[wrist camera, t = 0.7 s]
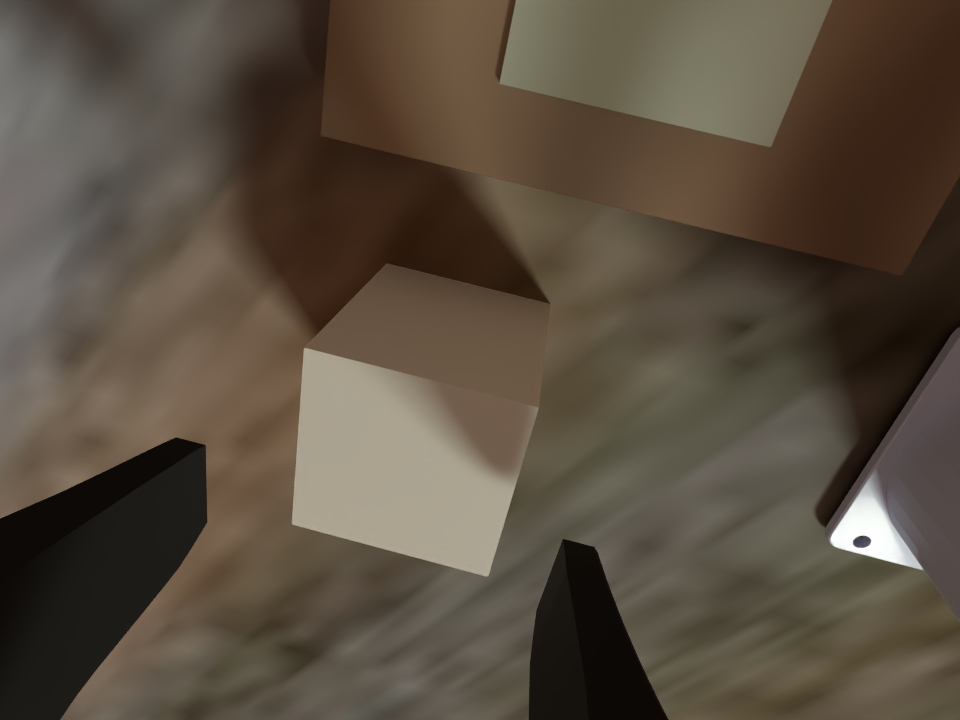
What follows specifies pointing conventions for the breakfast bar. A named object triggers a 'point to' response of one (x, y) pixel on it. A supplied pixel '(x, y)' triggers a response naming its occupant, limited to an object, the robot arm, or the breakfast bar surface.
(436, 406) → the cream block
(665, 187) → the walnut base
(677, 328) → the breakfast bar surface
